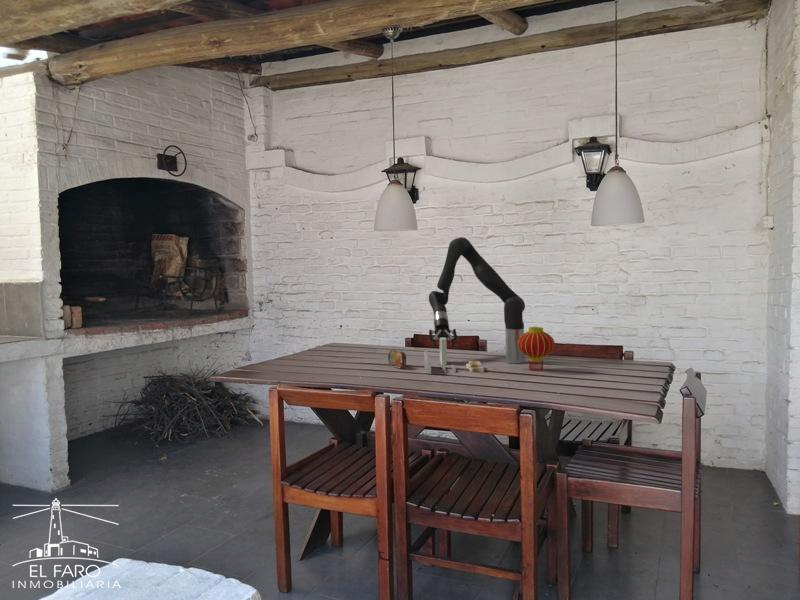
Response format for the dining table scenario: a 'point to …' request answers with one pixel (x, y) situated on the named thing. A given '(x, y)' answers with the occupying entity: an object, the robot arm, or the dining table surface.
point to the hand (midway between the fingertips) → (444, 346)
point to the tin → (397, 358)
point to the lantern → (536, 346)
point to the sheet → (443, 350)
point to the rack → (428, 363)
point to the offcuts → (475, 366)
